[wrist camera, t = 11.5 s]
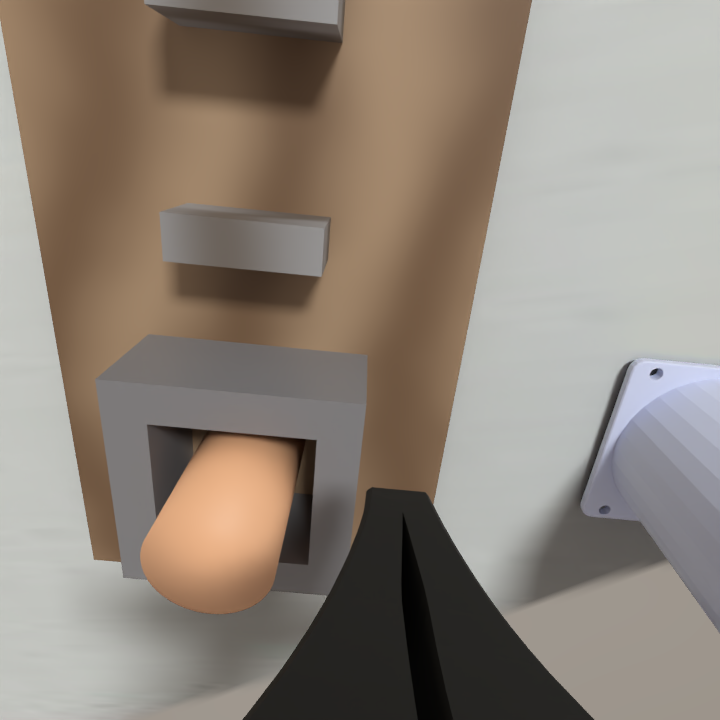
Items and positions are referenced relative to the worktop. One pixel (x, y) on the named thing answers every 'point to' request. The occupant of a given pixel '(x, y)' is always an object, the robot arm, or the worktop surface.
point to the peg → (224, 523)
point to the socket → (240, 415)
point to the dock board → (266, 195)
